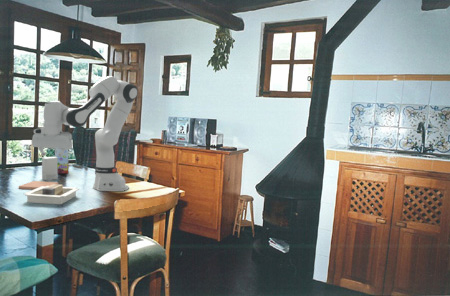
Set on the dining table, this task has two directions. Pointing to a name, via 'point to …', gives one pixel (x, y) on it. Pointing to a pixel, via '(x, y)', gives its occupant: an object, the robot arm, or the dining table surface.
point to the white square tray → (50, 196)
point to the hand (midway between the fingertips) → (52, 156)
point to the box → (53, 190)
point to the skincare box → (49, 168)
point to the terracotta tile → (36, 184)
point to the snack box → (62, 161)
